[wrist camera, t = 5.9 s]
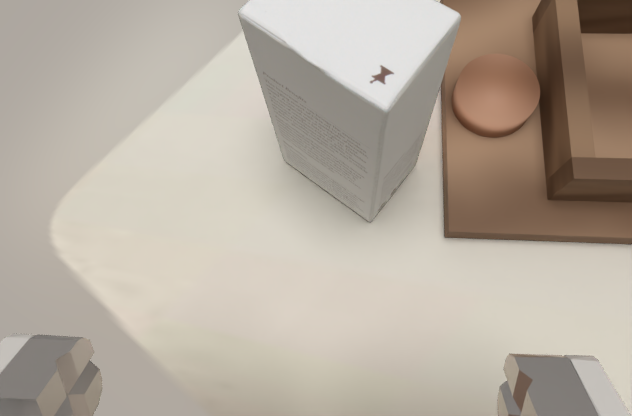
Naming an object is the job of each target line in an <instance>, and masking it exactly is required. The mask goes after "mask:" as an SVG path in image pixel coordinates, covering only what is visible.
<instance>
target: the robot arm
mask: <svg viewBox="0 0 632 416" xmlns="http://www.w3.org/2000/svg"><path fill="white" fill-rule="evenodd" d="M93 354H94V350H93V347H92V344H91V341H90V340H89V339H86V338H83V337H68V336H51V335H27V334H12V335H9V336H7V337H5V338H4V339H3V340H2V341H1V342H0V416H93V414H94V412H95V410H96V408H97V407H98V404H99V401H100V396H101V392H102V377H101V373H100V369H99V368H97V366H95V365H94V364H93V363H92V362H91V361H90V359H91V357H92V356H93ZM504 372H505V375H506V378H507V381H506V382H504V383H503V384H502V385H501V386H500V388H499V393H498V399H497V404H498V416H631V414H630V413H629V411H628V409H627V408H626V406H625V404H624V403H623V401H622V399H621V398H620V396H619V394H618V393H617V391H616V389H615V388H614V386H613V384H612V382H611V381H610V379H609V377H608V376H607V374H606V372H605V371H604V369H603V367H602V366H601V364H600V362H599V361H598V359H596V358H595V357H594V356H578V355H564V356H562V355H535V354H509V355H508V356H507V358H506V360H505V364H504Z"/></svg>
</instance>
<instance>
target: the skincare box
mask: <svg viewBox="0 0 632 416" xmlns="http://www.w3.org/2000/svg"><path fill="white" fill-rule="evenodd" d="M238 16H239V19H240V22H241V25H242V29H243V31H244V35H245V38H246V41H247V44H248V48H249V50H250V53H251V57H252V60H253V63H254V66H255V69H256V72H257V76H258V79H259V82H260V85H261V88H262V92H263V95H264V98H265V101H266V104H267V107H268V111H269V114H270V117H271V120H272V123H273V126H274V129H275V133H276V136H277V139H278V142H279V146H280V149H281V152H282V155H283V158H284V161H286V162H287V163H288V164H290V165H291V166H293V167H294V168H295V169H297V170H298V171H300V172H301V173H302V174H304V175H305V176H306V177H308V178H309V179H310V180H312V181H313V182H315V183H316V184H317V185H319V186H320V187H321V188H323V189H324V190H326V191H327V192H329V193H330V194H331V195H333V196H334V197H335V198H337V199H338V200H339V201H341V202H342V203H344V204H345V205H347V206H348V207H349V208H351V209H352V210H353V211H355V212H356V213H358V214H359V215H360V216H362V217H363V218H365V219H366V220H367V221H369V222H371V221H372V220H373V219H374V217H375V216H376V215H377V214H378V212H379V211H380V210H381V208H382V207H383V206H384V205H385V204H386V202H387V201H388V200H389V199H390V197H391V196H392V195H393V193H394V192H395V191H396V189H397V188H398V187H399V185H400V184H401V183H402V181H403V180H404V179H405V177H406V176H407V175H408V174H409V172H410V171H411V170H412V169H413V167H414V166H415V165H416V162H417V159H418V156H419V152H420V149H421V146H422V143H423V140H424V137H425V134H426V130H427V127H428V124H429V121H430V117H431V114H432V111H433V108H434V105H435V101H436V98H437V95H438V92H439V88H440V86H441V83H442V79H443V76H444V73H445V70H446V66H447V63H448V60H449V56H450V53H451V50H452V47H453V44H454V41H455V38H456V35H457V31H458V28H459V25H460V21H461V15H460V14H459V13H458V12H456V11H454V10H452V9H451V8H449V7H447V6H445V5H443V4H441V3H440V2H438V1H436V0H249V1H248V2H247V3H246V4H245V5H244V6H242V7H241V8H240V9H239V11H238Z"/></svg>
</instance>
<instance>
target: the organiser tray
mask: <svg viewBox="0 0 632 416" xmlns="http://www.w3.org/2000/svg"><path fill="white" fill-rule="evenodd" d="M440 3H441V4H443V5H445V6H447V7H449V8H451V9H452V10H454V11H456V12H458V13H459V14H460V15H461V21H460V25H459V28H458V31H457V35H456V38H455V41H454V44H453V47H452V50H451V53H450V56H449V60H448V63H447V66H446V70H445V73H444V76H443V79H442V83H441V101H442V146H443V190H444V234H445V237H449V238H477V239H505V240H533V241H561V242H589V243H616V244H632V0H441V1H440Z"/></svg>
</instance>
